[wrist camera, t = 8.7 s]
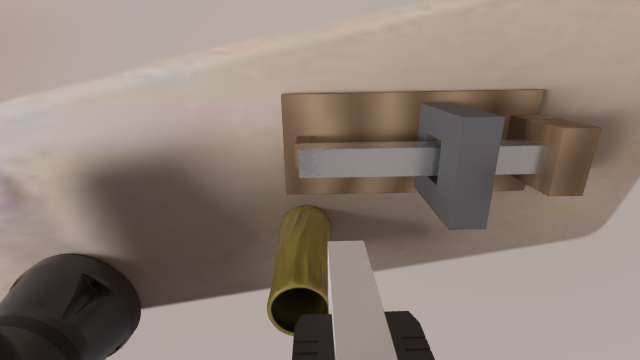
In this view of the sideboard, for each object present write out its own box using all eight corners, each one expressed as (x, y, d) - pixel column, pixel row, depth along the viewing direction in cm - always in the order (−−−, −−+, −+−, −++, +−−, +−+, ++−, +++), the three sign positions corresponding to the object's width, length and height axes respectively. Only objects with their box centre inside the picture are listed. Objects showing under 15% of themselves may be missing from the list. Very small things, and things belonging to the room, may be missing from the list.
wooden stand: (287, 190, 38) (278, 226, 29) (282, 94, 34) (270, 102, 25) (517, 186, 38) (575, 221, 29) (536, 89, 34) (609, 96, 25)
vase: (340, 222, 39) (352, 303, 25) (312, 258, 41) (310, 352, 27) (298, 196, 38) (287, 267, 24) (271, 234, 39) (247, 320, 26)
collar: (413, 186, 35) (448, 229, 26) (420, 103, 32) (463, 117, 23) (440, 186, 35) (485, 229, 26) (450, 102, 32) (504, 116, 23)
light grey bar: (301, 170, 31) (299, 180, 29) (299, 141, 30) (298, 148, 28) (524, 166, 31) (544, 175, 29) (530, 137, 30) (551, 144, 28)
